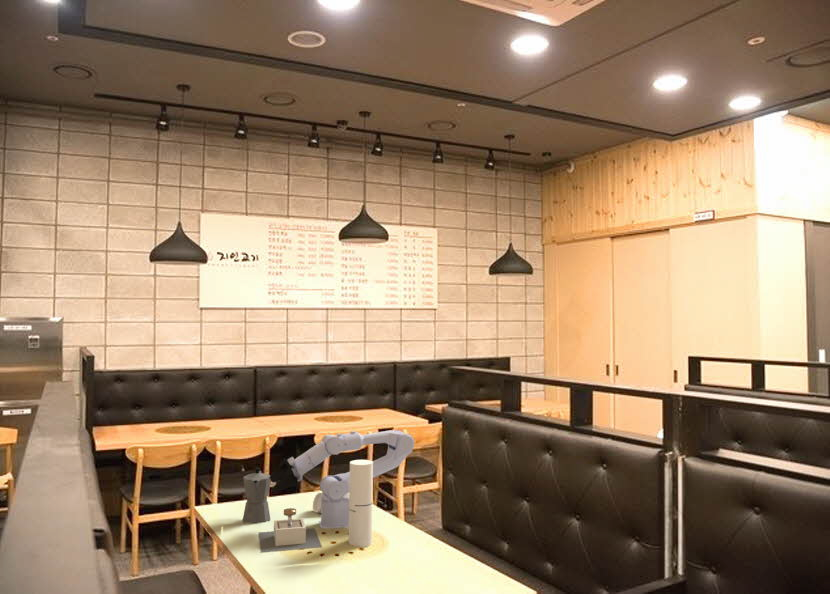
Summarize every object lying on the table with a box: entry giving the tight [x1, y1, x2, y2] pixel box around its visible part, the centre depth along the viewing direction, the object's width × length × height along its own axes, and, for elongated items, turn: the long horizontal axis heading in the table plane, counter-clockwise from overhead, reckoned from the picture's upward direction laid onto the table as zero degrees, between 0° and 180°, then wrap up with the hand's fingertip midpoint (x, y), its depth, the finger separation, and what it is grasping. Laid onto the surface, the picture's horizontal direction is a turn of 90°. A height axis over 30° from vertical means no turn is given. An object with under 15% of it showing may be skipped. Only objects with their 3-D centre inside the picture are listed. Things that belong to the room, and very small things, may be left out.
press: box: [273, 518, 307, 546], centre depth 201 cm, size 9×9×5 cm
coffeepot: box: [242, 467, 272, 524], centre depth 222 cm, size 15×9×18 cm, turn 8°
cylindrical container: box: [348, 459, 374, 548], centre depth 200 cm, size 7×7×25 cm
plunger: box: [278, 507, 301, 529], centre depth 201 cm, size 6×6×5 cm
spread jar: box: [312, 491, 349, 514], centre depth 233 cm, size 12×11×12 cm
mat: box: [258, 527, 323, 554], centre depth 201 cm, size 18×18×1 cm
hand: (273, 484), depth 209 cm, fingers open, 7 cm apart
